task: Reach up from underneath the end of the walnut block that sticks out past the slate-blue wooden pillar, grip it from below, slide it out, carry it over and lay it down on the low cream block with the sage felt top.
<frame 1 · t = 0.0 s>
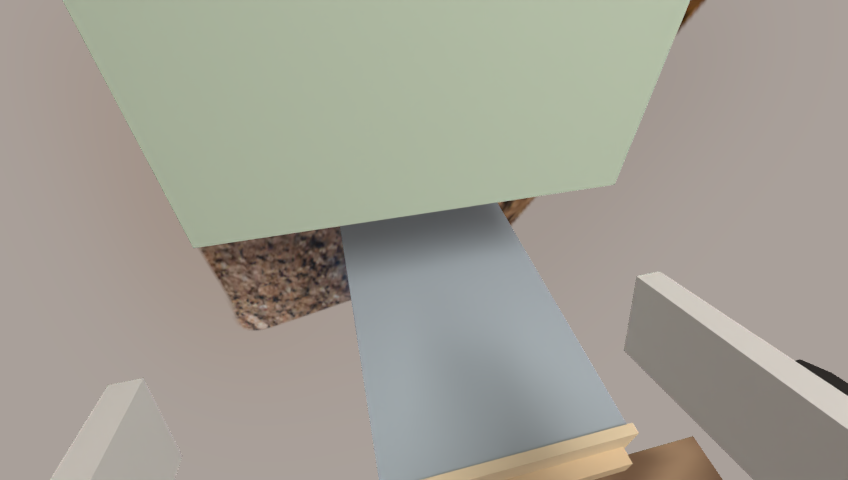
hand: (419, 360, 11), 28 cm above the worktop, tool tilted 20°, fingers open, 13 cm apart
pillar: (395, 184, 42), on the worktop
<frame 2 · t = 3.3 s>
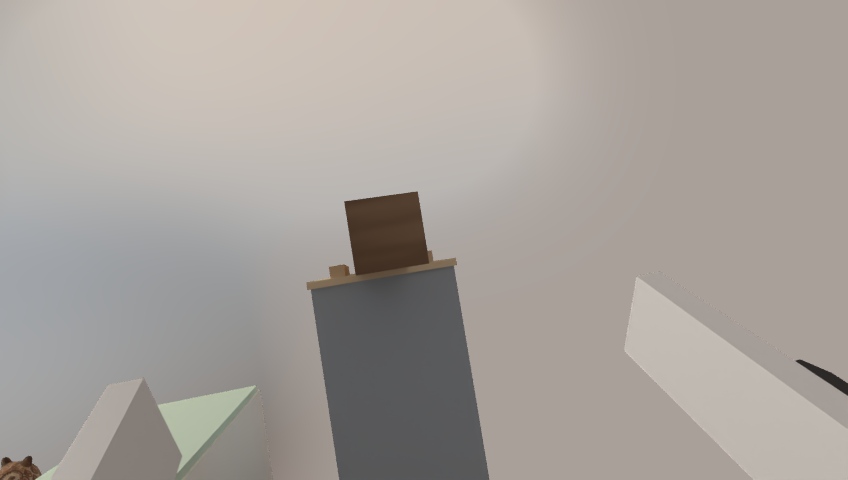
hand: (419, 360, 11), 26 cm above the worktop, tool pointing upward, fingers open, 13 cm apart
walnut block: (380, 270, 33), point 28 cm above the worktop, touching pillar
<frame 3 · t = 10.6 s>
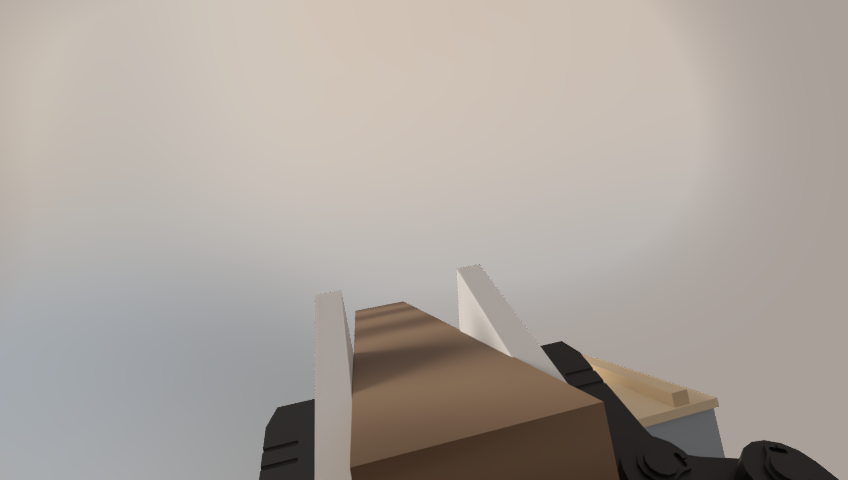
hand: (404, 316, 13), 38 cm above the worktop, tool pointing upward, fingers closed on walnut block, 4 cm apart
walnut block: (410, 407, 18), point 33 cm above the worktop, touching gripper
when the fingers open (25 cm above the worktop, at t = 13.7 s): walnut block drops 1 cm, resting on felt block.
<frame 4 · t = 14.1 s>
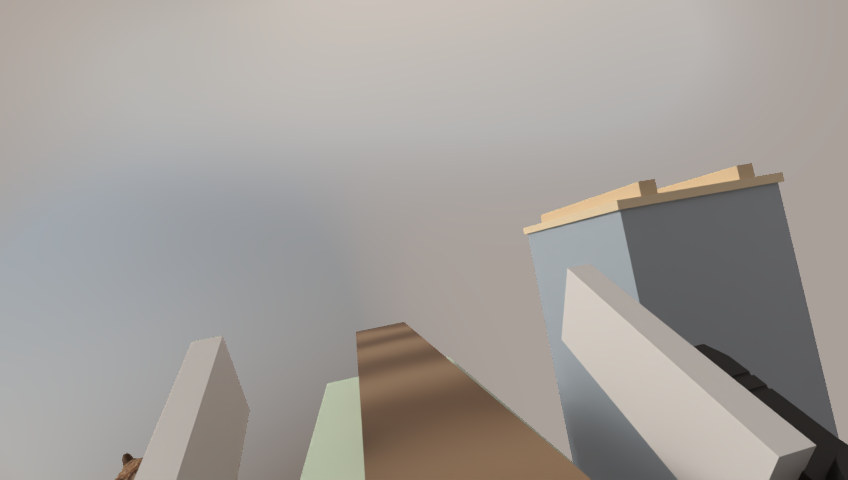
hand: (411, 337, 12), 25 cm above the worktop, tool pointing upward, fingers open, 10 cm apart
walnut block: (414, 443, 18), point 19 cm above the worktop, touching felt block
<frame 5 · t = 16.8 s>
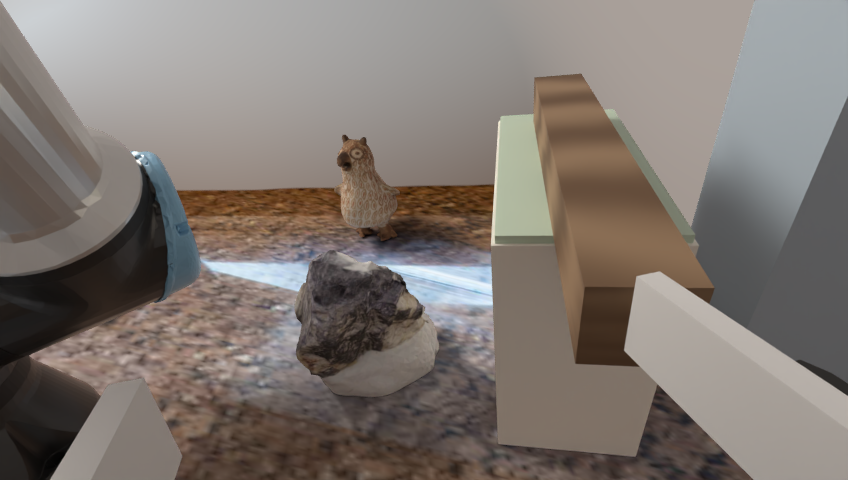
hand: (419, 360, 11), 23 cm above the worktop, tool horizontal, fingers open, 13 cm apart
walnut block: (576, 191, 25), point 19 cm above the worktop, touching felt block
stone: (376, 364, 41), on the worktop
figurine: (375, 233, 61), on the worktop
pillar: (753, 339, 38), on the worktop
felt block: (553, 348, 40), on the worktop
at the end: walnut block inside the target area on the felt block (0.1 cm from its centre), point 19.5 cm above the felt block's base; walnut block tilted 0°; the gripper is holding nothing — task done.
